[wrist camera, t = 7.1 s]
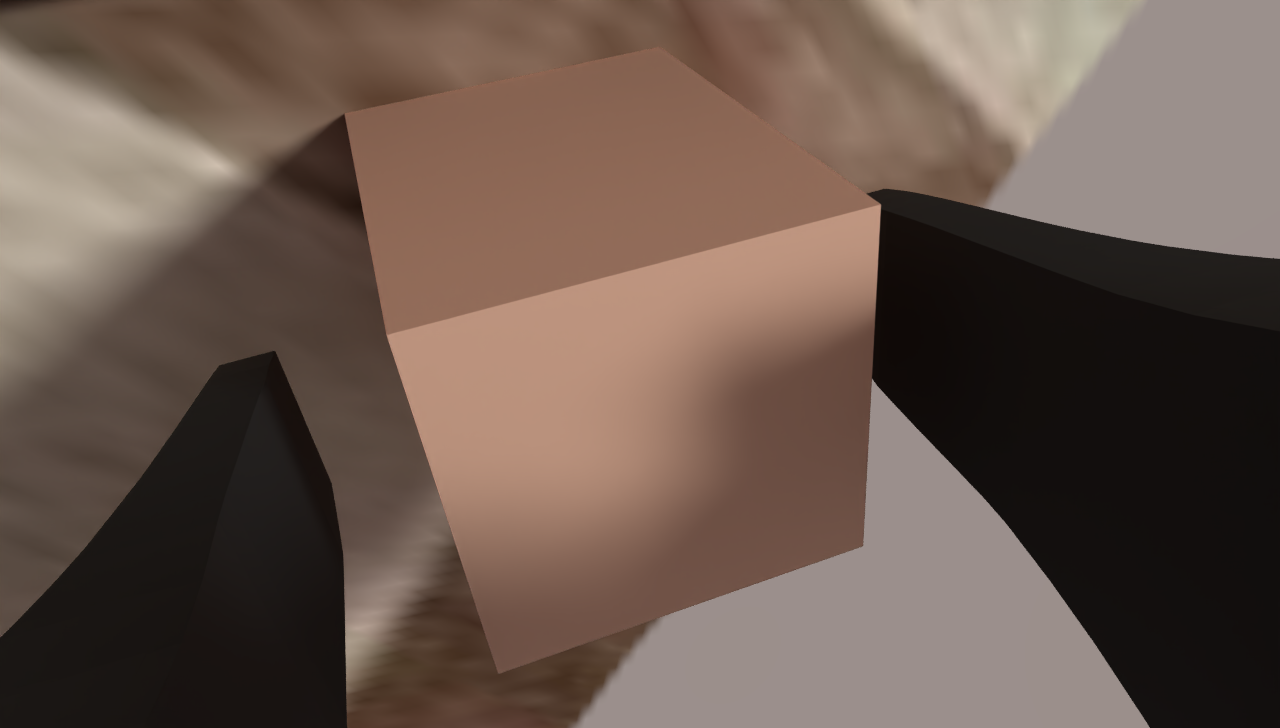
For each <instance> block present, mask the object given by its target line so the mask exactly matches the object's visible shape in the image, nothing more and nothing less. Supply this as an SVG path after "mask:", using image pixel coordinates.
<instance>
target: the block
mask: <svg viewBox="0 0 1280 728" xmlns="http://www.w3.org/2000/svg"><path fill="white" fill-rule="evenodd" d="M344 114H345V119H346V124H347V130H348V135H349V140H350V145H351V151H352V156H353V161H354V166H355V172H356V177H357V182H358V188H359V193H360V198H361V203H362V209H363V214H364V219H365V224H366V230H367V235H368V240H369V245H370V251H371V256H372V261H373V266H374V272H375V277H376V282H377V288H378V293H379V298H380V303H381V309H382V314H383V319H384V324H385V330H386V335H387V338H388V341H389V344H390V347H391V350H392V353H393V356H394V359H395V362H396V365H397V368H398V371H399V374H400V377H401V380H402V383H403V386H404V390H405V393H406V396H407V399H408V402H409V405H410V408H411V411H412V414H413V417H414V420H415V423H416V426H417V429H418V432H419V435H420V438H421V441H422V444H423V447H424V450H425V453H426V456H427V459H428V462H429V465H430V468H431V471H432V474H433V477H434V480H435V483H436V486H437V489H438V492H439V495H440V499H441V502H442V505H443V508H444V511H445V514H446V517H447V520H448V523H449V526H450V529H451V532H452V535H453V538H454V541H455V544H456V547H457V550H458V553H459V556H460V559H461V562H462V565H463V568H464V571H465V574H466V577H467V580H468V583H469V586H470V589H471V592H472V595H473V598H474V601H475V604H476V607H477V611H478V614H479V617H480V620H481V623H482V626H483V629H484V632H485V635H486V638H487V641H488V644H489V647H490V650H491V653H492V656H493V659H494V662H495V665H496V668H497V671H498V674H499V673H502V672H505V671H508V670H511V669H514V668H516V667H519V666H522V665H525V664H528V663H531V662H534V661H536V660H539V659H542V658H545V657H548V656H551V655H554V654H556V653H559V652H562V651H565V650H568V649H571V648H574V647H576V646H579V645H582V644H585V643H588V642H591V641H594V640H596V639H599V638H602V637H605V636H608V635H611V634H614V633H616V632H619V631H622V630H625V629H628V628H631V627H634V626H636V625H639V624H642V623H645V622H648V621H651V620H654V619H656V618H659V617H662V616H665V615H668V614H671V613H674V612H676V611H679V610H682V609H685V608H688V607H691V606H694V605H696V604H699V603H702V602H705V601H708V600H711V599H714V598H716V597H719V596H722V595H725V594H728V593H731V592H733V591H736V590H739V589H742V588H745V587H748V586H751V585H753V584H756V583H759V582H762V581H765V580H768V579H771V578H773V577H776V576H779V575H782V574H785V573H788V572H791V571H794V570H796V569H799V568H802V567H805V566H808V565H810V564H813V563H816V562H819V561H822V560H825V559H828V558H831V557H834V556H836V555H839V554H842V553H845V552H847V551H851V550H854V549H856V548H859V547H862V546H863V537H864V519H865V499H866V481H867V462H868V442H869V423H870V404H871V385H872V366H873V347H874V328H875V309H876V290H877V271H878V251H879V232H880V213H881V204H880V203H878V202H877V201H876V200H874V199H873V198H871V197H870V196H868V195H867V194H866V193H864V192H863V191H861V190H860V189H859V188H857V187H856V186H854V185H853V184H852V183H850V182H849V181H847V180H846V179H845V178H843V177H842V176H840V175H839V174H838V173H836V172H835V171H833V170H832V169H831V168H829V167H828V166H826V165H825V164H824V163H822V162H821V161H819V160H818V159H817V158H815V157H814V156H812V155H811V154H810V153H808V152H807V151H805V150H804V149H803V148H801V147H800V146H798V145H797V144H796V143H794V142H793V141H791V140H790V139H789V138H787V137H786V136H784V135H783V134H782V133H780V132H779V131H777V130H776V129H775V128H773V127H772V126H770V125H769V124H768V123H766V122H765V121H763V120H762V119H761V118H759V117H758V116H756V115H755V114H754V113H752V112H751V111H749V110H748V109H747V108H745V107H744V106H742V105H741V104H740V103H738V102H737V101H735V100H734V99H733V98H731V97H730V96H728V95H727V94H726V93H724V92H723V91H721V90H720V89H719V88H717V87H716V86H714V85H713V84H712V83H710V82H709V81H707V80H706V79H704V78H703V77H702V76H700V75H699V74H697V73H696V72H695V71H693V70H692V69H690V68H689V67H688V66H686V65H685V64H683V63H682V62H681V61H679V60H678V59H676V58H675V57H674V56H672V55H671V54H669V53H668V52H667V51H665V50H664V49H662V48H661V47H656V48H651V49H646V50H642V51H637V52H632V53H627V54H623V55H618V56H613V57H609V58H604V59H599V60H594V61H590V62H585V63H580V64H576V65H571V66H566V67H561V68H557V69H552V70H547V71H543V72H538V73H533V74H528V75H524V76H519V77H514V78H509V79H505V80H500V81H495V82H491V83H486V84H481V85H476V86H472V87H467V88H462V89H458V90H453V91H448V92H443V93H439V94H434V95H429V96H425V97H420V98H415V99H410V100H406V101H401V102H396V103H392V104H387V105H382V106H377V107H373V108H368V109H363V110H359V111H354V112H349V113H344Z"/></svg>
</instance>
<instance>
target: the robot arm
mask: <svg viewBox="0 0 1280 728" xmlns="http://www.w3.org/2000/svg"><path fill="white" fill-rule="evenodd" d="M867 195H868V196H870V197H871V198H873V199H874V200H876V201H877V202H878V203H880V204H881V213H880V232H879V251H878V271H877V290H876V309H875V328H874V347H873V366H872V379H873V380H874V382H875V383H876V384H877V386H878V387H879V388H880V389H881V390H882V391H883V392H884V394H885V395H886V396H887V397H888V398H889V399H890V400H891V401H892V402H893V403H894V404H895V405H896V407H897V408H898V409H900V411H901V412H902V413H903V414H904V415H905V416H906V417H907V418H908V419H909V420H910V421H911V423H913V425H914V426H915V427H916V428H917V429H918V430H919V431H920V432H921V433H922V434H923V435H924V436H925V437H926V438H927V439H928V440H929V441H930V442H931V443H932V444H933V445H934V446H935V448H936V449H937V450H938V451H940V453H941V454H942V455H943V456H944V457H945V458H946V459H947V460H948V461H949V462H950V463H951V464H952V465H953V466H954V467H955V468H956V469H957V470H958V471H959V472H960V474H961V475H963V477H964V478H965V479H966V480H967V481H968V482H969V483H970V484H971V485H972V486H973V487H974V488H975V489H976V490H977V491H978V492H979V493H980V494H981V495H982V496H983V498H984V499H985V500H986V501H987V502H988V503H989V504H990V505H991V507H992V508H993V509H994V510H995V511H996V512H997V513H998V515H1000V517H1001V518H1002V519H1003V520H1004V521H1005V523H1006V524H1007V525H1008V526H1009V528H1010V529H1011V530H1012V532H1013V533H1014V534H1015V536H1016V537H1017V538H1018V539H1019V541H1020V542H1021V543H1022V545H1023V546H1024V547H1025V548H1026V550H1027V551H1028V552H1029V554H1030V555H1031V556H1032V558H1033V559H1034V560H1035V561H1036V563H1037V564H1038V566H1039V567H1040V568H1041V570H1042V571H1043V572H1044V573H1045V575H1046V576H1047V577H1048V578H1049V580H1050V581H1051V583H1052V584H1053V586H1054V587H1055V588H1056V590H1057V591H1058V592H1059V594H1060V595H1061V597H1062V598H1063V600H1064V601H1065V602H1066V604H1067V605H1068V607H1069V608H1070V609H1071V611H1072V612H1073V614H1074V615H1075V616H1076V618H1077V619H1078V621H1079V622H1080V623H1081V625H1082V626H1083V628H1084V629H1085V630H1086V632H1087V633H1088V635H1089V636H1090V638H1091V639H1092V640H1093V642H1094V643H1095V645H1096V646H1097V648H1098V649H1099V651H1100V652H1101V654H1102V655H1103V656H1104V658H1105V660H1106V661H1107V663H1108V664H1109V666H1110V667H1111V669H1112V670H1113V672H1114V673H1115V675H1116V676H1117V678H1118V679H1119V681H1120V683H1121V684H1122V686H1123V687H1124V689H1125V690H1126V692H1127V693H1128V695H1129V696H1130V698H1131V699H1132V701H1133V702H1134V704H1135V705H1136V707H1137V708H1138V710H1139V711H1140V713H1141V714H1142V716H1143V717H1144V719H1145V721H1146V722H1147V724H1148V725H1149V727H1150V728H1280V259H1274V258H1262V257H1251V256H1240V255H1231V254H1222V253H1215V252H1207V251H1199V250H1191V249H1184V248H1176V247H1167V246H1162V245H1155V244H1149V243H1143V242H1137V241H1131V240H1126V239H1121V238H1116V237H1110V236H1105V235H1100V234H1095V233H1090V232H1085V231H1079V230H1075V229H1071V228H1066V227H1062V226H1057V225H1052V224H1048V223H1044V222H1039V221H1035V220H1031V219H1027V218H1022V217H1018V216H1014V215H1010V214H1006V213H1001V212H997V211H993V210H989V209H985V208H981V207H977V206H972V205H968V204H964V203H960V202H956V201H952V200H947V199H943V198H938V197H933V196H929V195H924V194H919V193H913V192H907V191H901V190H892V189H882V190H878V191H875V192H871V193H867ZM0 728H347V710H346V655H345V603H344V565H343V550H342V544H341V537H340V531H339V524H338V518H337V512H336V507H335V501H334V495H333V489H332V483H331V481H330V479H329V476H328V474H327V472H326V469H325V467H324V465H323V462H322V460H321V458H320V455H319V453H318V450H317V448H316V446H315V443H314V441H313V439H312V436H311V434H310V432H309V429H308V427H307V425H306V422H305V420H304V418H303V415H302V413H301V411H300V408H299V406H298V404H297V401H296V399H295V397H294V394H293V392H292V390H291V387H290V385H289V383H288V380H287V378H286V375H285V373H284V371H283V368H282V366H281V364H280V361H279V359H278V357H277V354H276V352H275V351H272V352H268V353H265V354H261V355H257V356H253V357H250V358H246V359H242V360H238V361H235V362H231V363H227V364H223V365H220V366H219V367H218V368H217V369H216V371H215V372H214V373H213V375H212V376H211V378H210V379H209V380H208V382H207V383H206V385H205V386H204V388H203V389H202V391H201V392H200V394H199V395H198V397H197V398H196V399H195V401H194V402H193V404H192V405H191V407H190V408H189V410H188V411H187V413H186V414H185V416H184V417H183V419H182V420H181V422H180V423H179V425H178V426H177V428H176V429H175V430H174V432H173V433H172V435H171V436H170V438H169V439H168V440H167V442H166V443H165V445H164V446H163V447H162V449H161V450H160V452H159V453H158V455H157V456H156V457H155V459H154V460H153V462H152V463H151V464H150V466H149V467H148V469H147V470H146V472H145V473H144V474H143V476H142V477H141V478H140V480H139V481H138V482H137V483H136V485H135V486H134V487H133V488H132V490H131V491H130V492H129V494H128V495H127V496H126V497H125V499H124V500H123V501H122V502H121V504H120V505H119V506H118V507H117V509H116V510H115V511H114V512H113V514H112V515H111V516H110V517H109V519H108V520H107V521H106V522H105V524H104V525H103V526H102V528H101V529H100V530H99V531H98V533H97V534H96V535H95V536H94V538H93V539H92V540H91V541H90V543H89V544H88V545H87V546H86V547H85V549H84V550H83V551H82V552H81V553H80V554H79V556H78V557H77V558H76V559H75V560H74V561H73V562H72V564H71V565H70V566H69V567H68V568H67V569H66V570H65V571H64V572H63V573H62V575H61V576H60V577H59V578H58V579H57V580H56V581H55V582H54V583H53V584H52V586H51V587H50V588H49V589H48V590H47V591H46V592H45V593H44V594H43V595H42V596H41V597H40V598H39V599H38V600H37V601H36V602H35V603H34V604H33V605H32V606H31V607H30V608H29V609H28V610H27V611H26V612H25V613H24V615H23V616H22V617H21V618H20V619H19V620H18V621H17V622H16V623H15V624H14V625H13V626H12V627H11V628H10V629H9V630H8V631H7V632H6V633H5V634H4V635H3V636H2V637H1V638H0Z"/></svg>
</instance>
